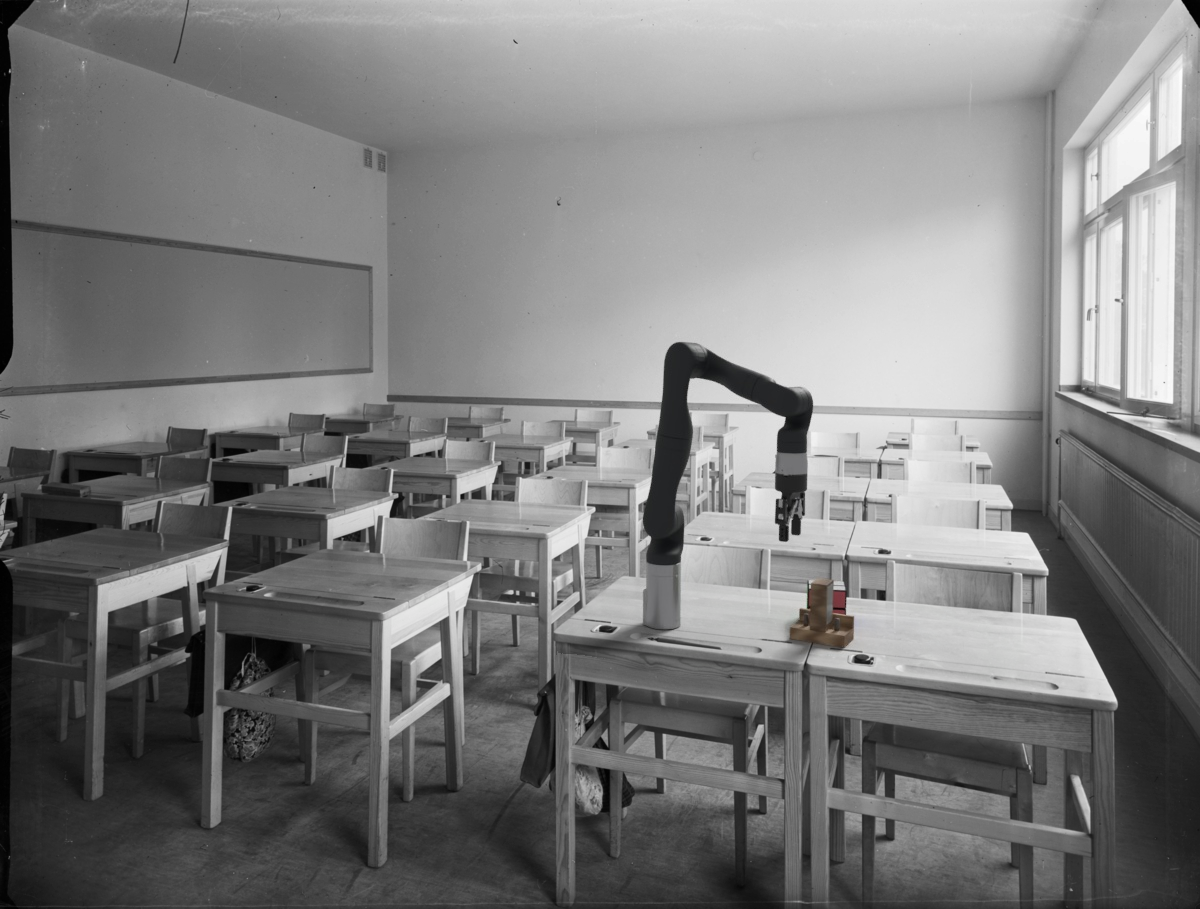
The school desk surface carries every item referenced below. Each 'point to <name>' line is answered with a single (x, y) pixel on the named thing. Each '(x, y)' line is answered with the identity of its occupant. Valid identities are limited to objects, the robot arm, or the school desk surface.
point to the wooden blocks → (821, 605)
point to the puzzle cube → (838, 596)
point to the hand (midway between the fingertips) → (789, 538)
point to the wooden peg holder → (834, 636)
